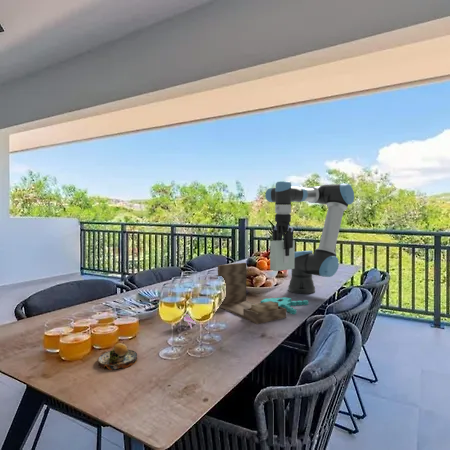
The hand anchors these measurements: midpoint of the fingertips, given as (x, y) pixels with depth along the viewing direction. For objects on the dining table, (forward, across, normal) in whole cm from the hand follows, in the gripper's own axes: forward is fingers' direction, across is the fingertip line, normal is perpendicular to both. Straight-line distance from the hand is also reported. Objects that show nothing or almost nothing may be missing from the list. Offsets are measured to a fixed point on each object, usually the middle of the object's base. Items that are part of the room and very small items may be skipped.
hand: (282, 261), depth 170 cm
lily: (+22, +2, -53) cm, 57 cm away
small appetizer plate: (+22, +20, -85) cm, 90 cm away
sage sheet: (+4, 0, 0) cm, 4 cm away
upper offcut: (+18, +10, -19) cm, 28 cm away
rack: (+22, 0, -19) cm, 29 cm away
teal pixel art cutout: (+22, 0, 0) cm, 22 cm away
